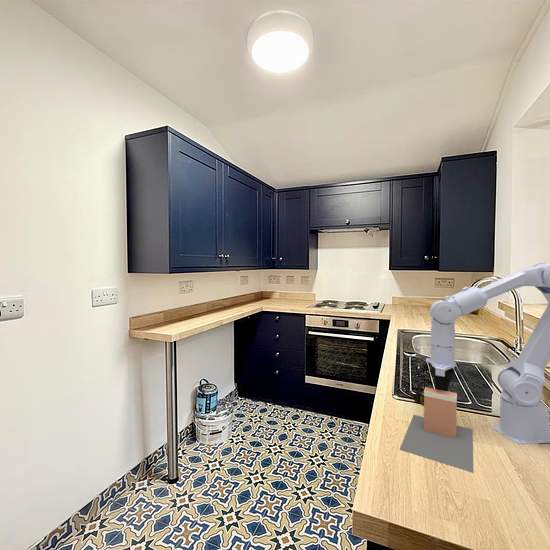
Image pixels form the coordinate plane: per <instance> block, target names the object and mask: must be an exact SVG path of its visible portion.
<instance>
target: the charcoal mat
mask: <svg viewBox="0 0 550 550" xmlns="http://www.w3.org/2000/svg"><path fill="white" fill-rule="evenodd" d="M473 430H474V429H472V428H469V427H465V426H461V425H457V424H456V438H452V437H448V436H445V435H441V434H437V433H433V432H430V431H426V430H424V416H420V415H416V414H413V415H412V417H411V420H410V422H409V425H408V427H407V430H406V433H405V435H404V438H403V440H402V442H401V444H400V448H399V451H403V452H406V453H408V454H411V455H416V456H418V457H422V458H425V459H428V460H430V461H434V462H438V463H441V464H443V465H446V466H450V467H453V468H456V469H460V470H463V471H466V472H469V473H472V474H473V473H474V431H473Z"/></svg>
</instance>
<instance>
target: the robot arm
mask: <svg viewBox="0 0 550 550" xmlns="http://www.w3.org/2000/svg"><path fill="white" fill-rule="evenodd" d="M522 287H534V288H536V289H537V290H538V291H540V292H541V293H542V295H543V297H544V298H545V300H546V301H547V303H548V305H547V306H546V308H545V309H544V311H543V313H542V314H541V317H540V318H539V320H538V321H537V324H536V325H535V327H534V329H533V331H532V333H530V336H529V338H528V339H527V341H526V343H525V345H524V347H523V348H522V350H521V352H520V354H519V355H518V357H517V358H516V359H514V360H512V361H510V363H509V364H508V365H507V366H506V367H505V368H504V369H502V370H501V371H500V372H499V373H498V375H497V379H496V380H497V383H498V385H499V386H500V388H502V390H501V392H500V394H499V395H500V399H499V400H500V402H499V404H500V405H499V424H498V425H491V426H490V427H491V429H493V430H495V431H496V432H498V433H500V435H503V436H505V437H506V438H507V439H509V440H511V441H513V442H514V443H515V444H518V445H526V444H527V445H528V444H550V412H549V410H548V408H547V406H546V404H545V403H543V402H542V399H543V395H544V393H543V389H544V385H545V383H546V377H545V372H544V371H545V369H546V368H547V366H548V364H549V362H550V262H539V263H535V264H534V265H532V266H528V267H527V266H526V267H524V268H521V269H519V270H517V271H514V272H512V273H510V274H508V275H506V276H504V277H502V278H499V279H497V280H495V281H493V282H491V283H489V284H487V285H485V286H482V287H481V288H479V287H476V286H470V287H468V286H465V287H462V288H461V289H462V290H461V291H459V292H457V293H454V294H453V295H445V296H444V300H440V299H439V300H436V301H435V302H433V303H432V304H431V305H430V308H429V310H428V312H429V314H430V316H431V322H430V325H431V326H430V357H429V358H428V357H426V358H425V363H429V364H430V365H431V367H430V368H429V371H430V374H431V375H432V378H433V381H434V385H435V389H437V390H442V391H447V392H449V388H450V387H449V386H450V383H451V381H452V378H453V377H454V375H455V373H456V371H455V367H456V359H455V358H456V329H455V325H456V324H455V322H456V321H457V320H458V317H463V316H466V315H467V314H470V313H472V312H474V311H477V310H479V309H483V308H484V307H486V306H487V303H488V301H489V300H490V299H493V298H495V297H498V296H500V295H503V294H506V293H509V292H511V291H514V290H516V289H520V288H522Z"/></svg>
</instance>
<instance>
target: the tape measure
mask: <svg viewBox="0 0 550 550" xmlns="http://www.w3.org/2000/svg"><path fill="white" fill-rule="evenodd" d="M412 400H414V402H415V403H416V404H421V405H422V406H424V390H422V391H419V392H417V393H414V394H413V395H412Z"/></svg>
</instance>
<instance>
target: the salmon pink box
mask: <svg viewBox="0 0 550 550" xmlns="http://www.w3.org/2000/svg"><path fill="white" fill-rule="evenodd" d="M423 391H424V405H423V417H424V430H426V431H430V432H433V433H437V434H441V435H445V436H448V437H452V438H456V425H457V402H458V401H457V399H458V394H457V392H452V391H448V392H447V391H442V390H437V389H436V388H431V387H426V386H425V388H424V390H423Z"/></svg>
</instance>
